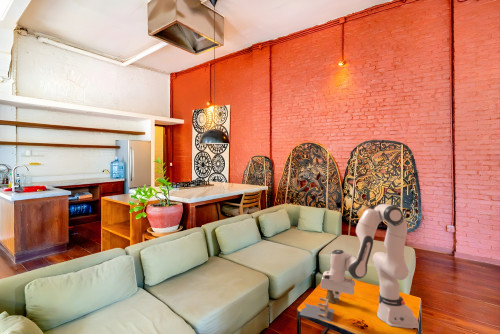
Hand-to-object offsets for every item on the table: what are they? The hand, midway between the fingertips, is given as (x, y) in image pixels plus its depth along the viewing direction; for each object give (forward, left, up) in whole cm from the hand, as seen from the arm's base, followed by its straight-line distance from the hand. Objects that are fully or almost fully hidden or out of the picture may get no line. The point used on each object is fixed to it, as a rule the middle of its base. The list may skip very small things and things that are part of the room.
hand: (336, 297), depth 162 cm
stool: (+8, 0, -12) cm, 15 cm away
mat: (+12, 0, -13) cm, 18 cm away
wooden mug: (+2, -19, -13) cm, 23 cm away
